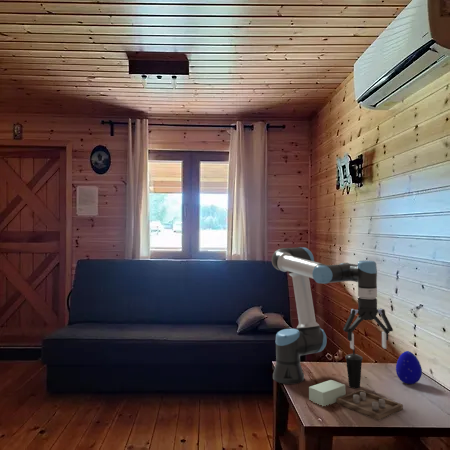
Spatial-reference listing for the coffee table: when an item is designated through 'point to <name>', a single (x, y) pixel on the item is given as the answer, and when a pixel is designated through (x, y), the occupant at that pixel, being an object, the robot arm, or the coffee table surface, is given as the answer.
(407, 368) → the ornament
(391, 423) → the coffee table surface
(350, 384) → the drinking cup
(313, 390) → the grey boxy block
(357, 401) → the peg frame
